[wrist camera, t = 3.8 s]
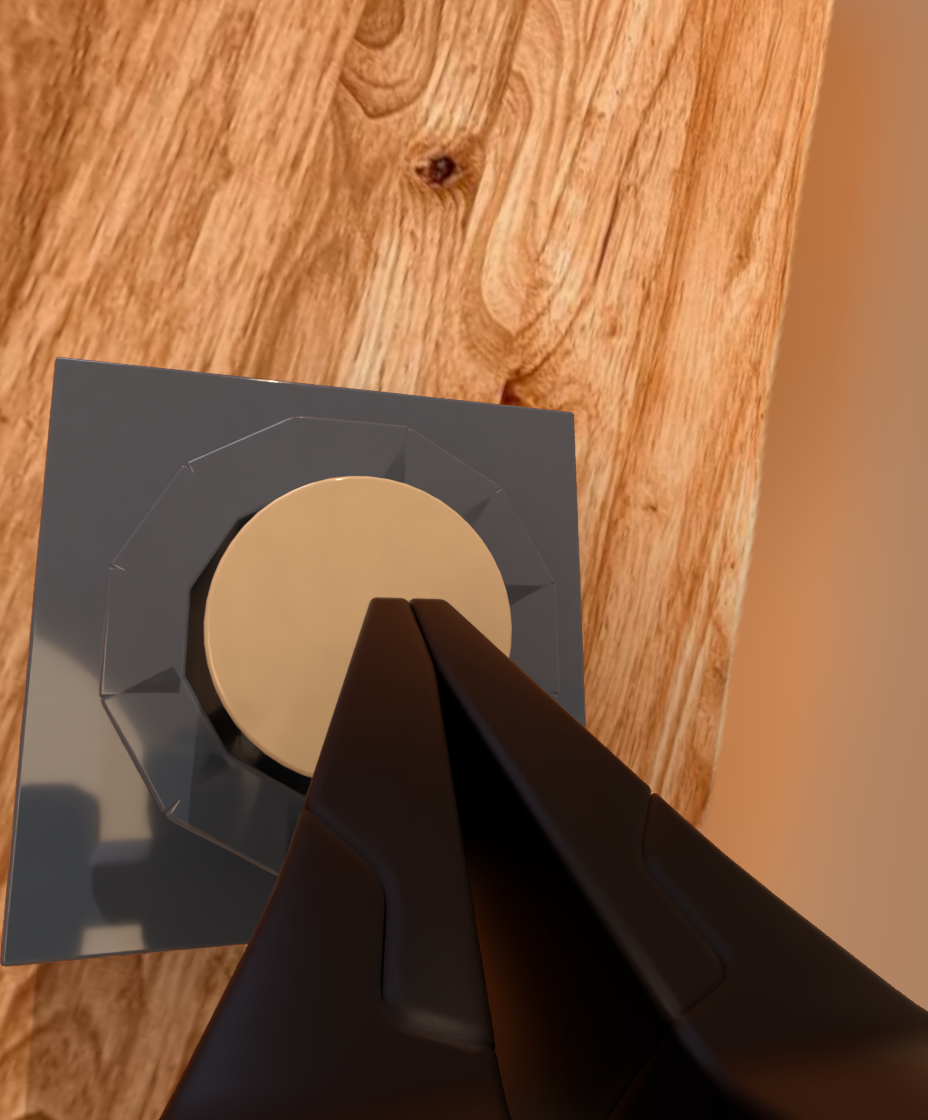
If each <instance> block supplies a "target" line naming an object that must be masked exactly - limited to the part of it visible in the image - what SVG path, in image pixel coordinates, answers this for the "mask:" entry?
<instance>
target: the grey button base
mask: <svg viewBox="0 0 928 1120" xmlns="http://www.w3.org/2000/svg"><path fill="white" fill-rule="evenodd" d="M344 476H371V477H378V478H385V479H390V480H394V481H398V482H401V483H405V484H408V485H410V486H413V487H415V488H418V489H420V490H422V491H425V492H426V493H428V494H430V495H432V496H434V497H435V498H437V499H439V500H441V501H442V502H443V503H445V504H446V505H447V506H449V507H450V508H452V509H453V510H454V511H456V512H457V513H458V514H459V515H460V516H461V517H462V518H463V519H464V520H465V521H466V522H467V523H468V524H469V525H470V526H471V527H472V528H473V529H474V531H475V532H476V533H477V534H478V535H479V537H480V538H481V539H482V540H483V542H484V544H485V545H486V547H487V548H488V550H489V551H490V553H491V554H492V556H493V558H494V560H495V563H496V565H497V567H498V569H499V571H500V573H501V576H502V579H503V582H504V585H505V588H506V591H507V596H508V601H509V605H510V612H511V624H512V637H511V651H510V657H509V659H511V660H512V661H513V662H514V663H515V664H516V665H517V666H518V667H519V668H520V669H521V670H523V671H524V672H525V673H526V674H527V675H528V676H529V677H530V678H531V679H532V680H533V681H535V682H536V683H537V684H538V685H539V686H540V687H541V688H542V689H543V690H544V691H545V692H547V693H548V694H549V695H550V696H551V697H552V698H553V699H554V700H555V701H556V702H557V703H559V704H560V705H561V706H562V707H563V708H564V709H565V710H566V711H567V712H568V713H569V714H570V715H572V716H573V717H574V718H575V719H576V720H577V721H578V722H579V723H580V724H581V725H582V726H584V727H585V728H586V717H585V691H584V665H583V639H582V613H581V588H580V562H579V536H578V510H577V484H576V458H575V432H574V414H573V413H572V412H565V411H556V410H547V409H537V408H528V407H519V406H509V405H500V404H491V403H482V402H472V401H463V400H454V399H444V398H435V397H426V396H416V395H407V394H398V393H389V392H379V391H370V390H361V389H351V388H342V387H333V386H323V385H314V384H305V383H296V382H286V381H277V380H268V379H258V378H249V377H240V376H230V375H221V374H212V373H203V372H193V371H184V370H175V369H165V368H156V367H147V366H138V365H128V364H119V363H110V362H100V361H91V360H82V359H72V358H63V357H58V358H56V360H55V364H54V375H53V386H52V397H51V408H50V419H49V430H48V441H47V452H46V463H45V473H44V484H43V495H42V506H41V517H40V528H39V539H38V550H37V561H36V572H35V583H34V593H33V604H32V615H31V626H30V637H29V648H28V659H27V670H26V681H25V692H24V702H23V713H22V724H21V735H20V746H19V757H18V768H17V779H16V790H15V801H14V811H13V822H12V833H11V844H10V855H9V866H8V877H7V888H6V899H5V910H4V920H3V931H2V942H1V953H0V963H1V966H5V967H9V966H20V965H30V964H41V963H52V962H62V961H73V960H83V959H94V958H104V957H115V956H125V955H136V954H146V953H157V952H167V951H178V950H189V949H199V948H210V947H220V946H231V945H241V944H248V943H249V941H250V939H251V937H252V935H253V933H254V930H255V928H256V926H257V924H258V922H259V920H260V917H261V915H262V913H263V911H264V909H265V907H266V904H267V902H268V900H269V898H270V896H271V894H272V891H273V888H274V886H275V883H276V880H277V878H278V875H279V872H280V870H281V867H282V864H283V862H284V859H285V856H286V854H287V851H288V848H289V845H290V842H291V839H292V836H293V833H294V830H295V827H296V824H297V821H298V818H299V815H300V813H301V812H302V807H303V804H304V801H305V798H306V795H307V792H308V789H309V786H310V783H311V780H312V778H310V777H307V776H304V775H301V774H299V773H297V772H295V771H293V770H291V769H289V768H286V767H284V766H282V765H281V764H279V763H278V762H276V761H275V760H273V759H272V758H270V757H269V756H267V755H266V754H264V753H263V752H262V751H261V750H260V749H259V748H258V747H256V746H255V745H254V744H253V743H252V742H251V741H250V740H249V739H248V738H247V737H246V736H245V735H244V734H243V733H242V732H241V730H240V729H239V728H238V727H237V726H236V725H235V724H234V722H233V721H232V720H231V718H230V716H229V715H228V713H227V712H226V710H225V709H224V707H223V706H222V703H221V701H220V699H219V697H218V695H217V693H216V690H215V688H214V685H213V681H212V678H211V675H210V672H209V668H208V665H207V659H206V652H205V646H204V615H205V607H206V600H207V596H208V592H209V588H210V585H211V581H212V578H213V576H214V573H215V571H216V569H217V566H218V564H219V561H220V559H221V558H222V556H223V554H224V553H225V551H226V549H227V547H228V546H229V544H230V542H231V541H232V540H233V539H234V537H235V536H236V535H237V534H238V532H239V531H240V530H241V528H242V527H243V526H244V525H245V524H246V523H247V522H248V521H249V520H250V519H251V518H252V517H253V516H254V515H255V514H256V513H257V512H259V511H260V510H261V509H263V508H264V507H265V506H267V505H268V504H269V503H271V502H272V501H273V500H275V499H277V498H279V497H280V496H282V495H284V494H286V493H288V492H289V491H291V490H294V489H296V488H299V487H301V486H304V485H306V484H309V483H312V482H316V481H320V480H324V479H328V478H335V477H344Z"/></svg>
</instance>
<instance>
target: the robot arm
mask: <svg viewBox="0 0 928 1120" xmlns="http://www.w3.org/2000/svg"><path fill="white" fill-rule="evenodd" d="M159 1120H928V1011H926V1010H925V1009H923V1008H922V1007H920V1006H918V1005H917V1004H915V1003H914V1002H913V1001H912V1000H910V999H909V998H907V997H906V996H905V995H903V994H902V993H901V992H899V991H898V990H896V989H895V988H894V987H892V986H891V985H890V984H889V983H887V982H886V981H885V980H883V979H882V978H881V977H880V976H878V975H877V974H876V973H874V972H873V971H872V970H871V969H869V968H868V967H867V966H866V965H864V964H863V963H862V962H860V961H859V960H858V959H857V958H855V957H854V956H853V955H851V954H850V953H849V952H848V951H846V950H845V949H844V948H842V947H841V946H840V945H838V944H837V943H836V942H835V941H833V940H832V939H831V938H830V937H828V936H827V935H826V934H824V933H823V932H822V931H821V930H819V929H818V928H817V927H816V926H814V925H813V924H812V923H810V922H809V921H808V920H806V919H805V918H804V917H803V916H801V915H800V914H799V913H798V912H796V911H795V910H794V909H793V908H791V907H790V906H789V905H787V904H786V903H785V902H784V901H782V900H781V899H780V898H778V897H777V896H776V895H775V894H773V893H772V892H771V891H770V890H768V889H767V888H766V887H765V886H763V885H762V884H761V883H760V882H758V881H757V880H756V879H755V878H754V877H752V876H751V875H750V874H749V873H747V872H746V871H745V870H744V869H742V868H741V867H740V866H739V865H738V864H736V863H735V862H734V861H733V860H731V859H730V858H729V857H728V856H726V855H725V854H724V853H723V852H722V851H720V849H718V848H717V847H716V846H715V845H714V844H713V843H711V842H710V841H709V840H708V839H707V838H706V837H705V836H704V835H702V834H701V833H700V832H699V831H698V830H697V829H696V828H694V827H693V826H692V825H691V824H690V823H689V822H688V821H687V820H685V819H684V818H683V817H682V816H681V815H680V814H679V813H678V812H677V811H675V810H674V809H673V808H672V807H671V806H670V805H669V804H668V803H667V802H666V801H665V800H663V799H662V798H661V797H660V796H659V795H658V794H656V793H653V794H651V789H650V787H649V786H648V785H647V784H646V783H645V782H643V781H642V780H641V779H640V778H639V777H638V776H637V775H636V774H635V773H634V772H633V771H632V770H630V769H629V768H628V767H627V766H626V765H625V764H624V763H623V762H622V761H621V760H620V759H618V758H617V757H616V756H615V755H614V754H613V753H612V752H611V751H610V750H609V749H608V748H606V747H605V746H604V745H603V744H602V743H601V742H600V741H599V740H598V739H597V738H596V737H594V736H593V735H592V734H591V733H590V732H589V731H588V730H587V729H586V728H585V727H584V726H582V725H581V724H580V723H579V722H578V721H577V720H576V719H575V718H574V717H573V716H572V715H570V714H569V713H568V712H567V711H566V710H565V709H564V708H563V707H562V706H561V705H560V704H559V703H557V702H556V701H555V700H554V699H553V698H552V697H551V696H550V695H549V694H548V693H547V692H545V691H544V690H543V689H542V688H541V687H540V686H539V685H538V684H537V683H536V682H535V681H533V680H532V679H531V678H530V677H529V676H528V675H527V674H526V673H525V672H524V671H523V670H521V669H520V668H519V667H518V666H517V665H516V664H515V663H514V662H513V661H512V660H511V659H509V658H508V657H507V656H506V655H505V654H504V653H503V652H502V651H501V650H500V649H499V648H497V647H496V646H495V645H494V644H493V643H492V642H491V641H490V640H489V639H488V638H487V637H486V636H484V635H483V634H482V633H481V632H480V631H479V630H478V629H477V628H476V627H475V626H474V625H472V624H471V623H470V622H469V621H468V620H467V619H466V618H465V617H464V616H463V615H462V614H460V613H459V612H458V611H457V610H456V609H455V608H454V607H453V606H452V605H451V604H450V603H448V602H447V601H445V600H443V599H426V598H413V599H411V600H410V601H409V602H408V601H407V600H406V599H404V598H392V597H374V598H372V599H371V600H370V603H369V605H368V608H367V611H366V614H365V618H364V621H363V624H362V627H361V630H360V633H359V636H358V639H357V642H356V645H355V648H354V651H353V654H352V657H351V660H350V663H349V666H348V670H347V673H346V676H345V679H344V682H343V685H342V688H341V691H340V694H339V697H338V700H337V703H336V706H335V709H334V712H333V715H332V718H331V721H330V725H329V728H328V731H327V734H326V737H325V740H324V743H323V746H322V749H321V752H320V755H319V758H318V761H317V764H316V767H315V770H314V773H313V777H312V780H311V783H310V786H309V789H308V792H307V795H306V798H305V801H304V804H303V807H302V812H301V813H300V815H299V818H298V821H297V824H296V827H295V830H294V833H293V836H292V839H291V842H290V845H289V848H288V851H287V854H286V856H285V859H284V862H283V864H282V867H281V870H280V872H279V875H278V878H277V880H276V883H275V886H274V888H273V891H272V894H271V896H270V898H269V900H268V902H267V904H266V907H265V909H264V911H263V913H262V915H261V917H260V920H259V922H258V924H257V926H256V928H255V930H254V933H253V935H252V937H251V939H250V941H249V943H248V945H247V948H246V950H245V952H244V954H243V956H242V958H241V960H240V962H239V964H238V966H237V968H236V970H235V972H234V974H233V976H232V978H231V980H230V982H229V984H228V985H227V987H226V989H225V991H224V993H223V995H222V997H221V999H220V1001H219V1003H218V1005H217V1007H216V1009H215V1011H214V1013H213V1015H212V1017H211V1019H210V1021H209V1023H208V1025H207V1027H206V1029H205V1031H204V1033H203V1035H202V1037H201V1039H200V1041H199V1043H198V1045H197V1047H196V1049H195V1051H194V1053H193V1055H192V1057H191V1059H190V1061H189V1063H188V1065H187V1067H186V1069H185V1071H184V1072H183V1074H182V1076H181V1078H180V1080H179V1082H178V1084H177V1086H176V1088H175V1090H174V1092H173V1094H172V1096H171V1098H170V1100H169V1102H168V1104H167V1106H166V1108H165V1110H164V1112H163V1113H162V1115H161V1117H160V1119H159Z"/></svg>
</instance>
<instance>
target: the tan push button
mask: <svg viewBox="0 0 928 1120" xmlns="http://www.w3.org/2000/svg"><path fill="white" fill-rule="evenodd" d="M374 597H392V598H404V599H406V600H407V601H408V602H409V601H410V600H411V599H413V598H426V599H443V600H445V601H447V602H448V603H450V604H451V605H452V606H453V607H454V608H455V609H456V610H457V611H458V612H459V613H460V614H462V615H463V616H464V617H465V618H466V619H467V620H468V621H469V622H470V623H471V624H472V625H474V626H475V627H476V628H477V629H478V630H479V631H480V632H481V633H482V634H483V635H484V636H486V637H487V638H488V639H489V640H490V641H491V642H492V643H493V644H494V645H495V646H496V647H497V648H499V649H500V650H501V651H502V652H503V653H504V654H505V655H506V656H507V657H508V658H509V657H510V651H511V637H512V624H511V612H510V605H509V601H508V596H507V591H506V588H505V585H504V582H503V579H502V576H501V573H500V571H499V569H498V567H497V565H496V563H495V560H494V558H493V556H492V554H491V553H490V551H489V550H488V548H487V547H486V545H485V544H484V542H483V540H482V539H481V538H480V537H479V535H478V534H477V533H476V532H475V531H474V529H473V528H472V527H471V526H470V525H469V524H468V523H467V522H466V521H465V520H464V519H463V518H462V517H461V516H460V515H459V514H458V513H457V512H456V511H454V510H453V509H452V508H450V507H449V506H447V505H446V504H445V503H443V502H442V501H441V500H439V499H437V498H435V497H434V496H432V495H430V494H428V493H426V492H425V491H422V490H420V489H418V488H415V487H413V486H410V485H408V484H405V483H401V482H398V481H394V480H390V479H385V478H378V477H371V476H344V477H335V478H328V479H324V480H320V481H316V482H312V483H309V484H306V485H304V486H301V487H299V488H296V489H294V490H291V491H289V492H288V493H286V494H284V495H282V496H280V497H279V498H277V499H275V500H273V501H272V502H271V503H269V504H268V505H267V506H265V507H264V508H263V509H261V510H260V511H259V512H257V513H256V514H255V515H254V516H253V517H252V518H251V519H250V520H249V521H248V522H247V523H246V524H245V525H244V526H243V527H242V528H241V530H240V531H239V532H238V534H237V535H236V536H235V537H234V539H233V540H232V541H231V542H230V544H229V546H228V547H227V549H226V551H225V553H224V554H223V556H222V558H221V559H220V561H219V564H218V566H217V569H216V571H215V573H214V576H213V578H212V581H211V585H210V588H209V592H208V596H207V600H206V607H205V615H204V646H205V652H206V659H207V665H208V668H209V672H210V675H211V678H212V681H213V685H214V688H215V690H216V693H217V695H218V697H219V699H220V701H221V703H222V706H223V707H224V709H225V710H226V712H227V713H228V715H229V716H230V718H231V720H232V721H233V722H234V724H235V725H236V726H237V727H238V728H239V729H240V730H241V732H242V733H243V734H244V735H245V736H246V737H247V738H248V739H249V740H250V741H251V742H252V743H253V744H254V745H255V746H256V747H258V748H259V749H260V750H261V751H262V752H263V753H264V754H266V755H267V756H269V757H270V758H272V759H273V760H275V761H276V762H278V763H279V764H281V765H282V766H284V767H286V768H289V769H291V770H293V771H295V772H297V773H299V774H301V775H304V776H307V777H310V778H312V777H313V773H314V770H315V767H316V764H317V761H318V758H319V755H320V752H321V749H322V746H323V743H324V740H325V737H326V734H327V731H328V728H329V725H330V721H331V718H332V715H333V712H334V709H335V706H336V703H337V700H338V697H339V694H340V691H341V688H342V685H343V682H344V679H345V676H346V673H347V670H348V666H349V663H350V660H351V657H352V654H353V651H354V648H355V645H356V642H357V639H358V636H359V633H360V630H361V627H362V624H363V621H364V618H365V614H366V611H367V608H368V605H369V603H370V600H371V599H372V598H374Z"/></svg>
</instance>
